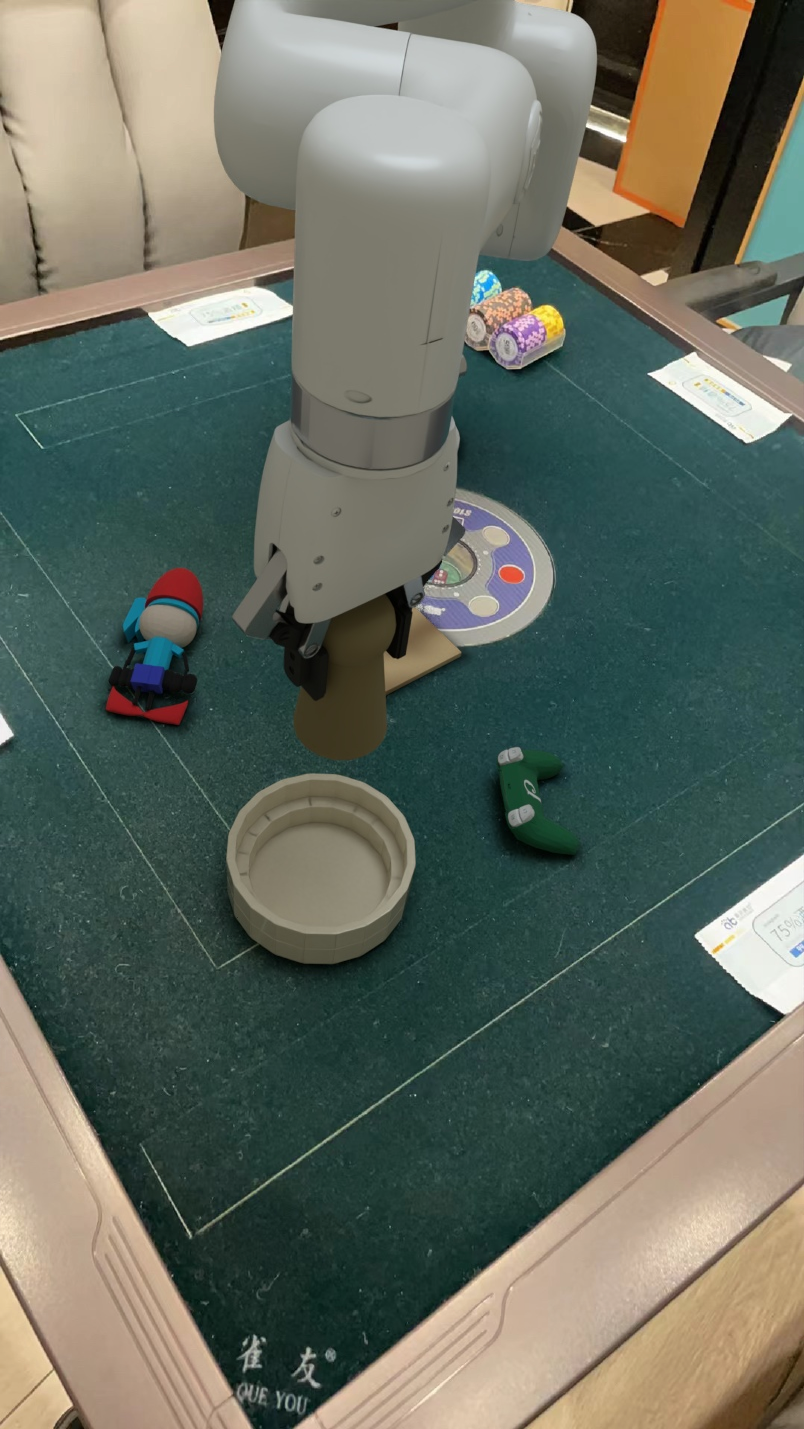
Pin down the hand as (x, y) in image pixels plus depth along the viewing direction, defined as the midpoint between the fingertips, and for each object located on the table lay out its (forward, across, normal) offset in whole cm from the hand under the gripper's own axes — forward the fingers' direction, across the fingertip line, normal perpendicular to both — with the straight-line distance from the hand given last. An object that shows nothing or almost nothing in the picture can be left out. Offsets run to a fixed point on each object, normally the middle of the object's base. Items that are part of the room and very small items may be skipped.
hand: (346, 661), depth 62 cm
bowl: (+22, +2, +2) cm, 22 cm away
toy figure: (+22, 0, -24) cm, 33 cm away
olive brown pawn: (+6, 0, 0) cm, 6 cm away
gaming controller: (+22, -16, +6) cm, 28 cm away
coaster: (+22, -17, -15) cm, 32 cm away
